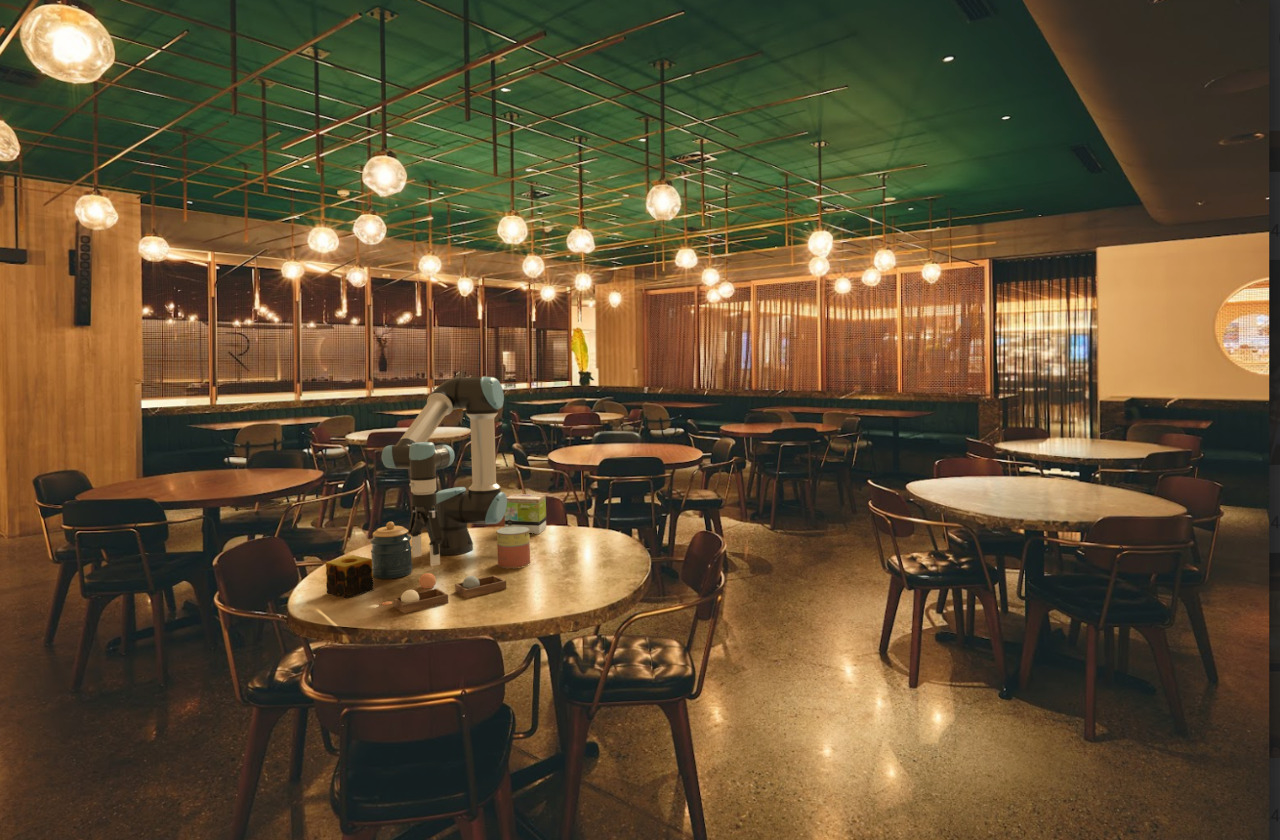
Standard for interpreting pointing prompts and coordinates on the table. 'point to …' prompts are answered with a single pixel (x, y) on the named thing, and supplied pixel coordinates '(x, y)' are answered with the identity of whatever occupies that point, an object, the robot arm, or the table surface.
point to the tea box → (526, 512)
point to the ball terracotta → (427, 581)
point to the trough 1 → (422, 601)
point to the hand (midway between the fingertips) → (425, 560)
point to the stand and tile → (378, 605)
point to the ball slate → (471, 582)
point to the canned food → (513, 546)
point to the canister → (391, 552)
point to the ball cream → (409, 596)
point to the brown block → (349, 576)
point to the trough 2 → (482, 586)
